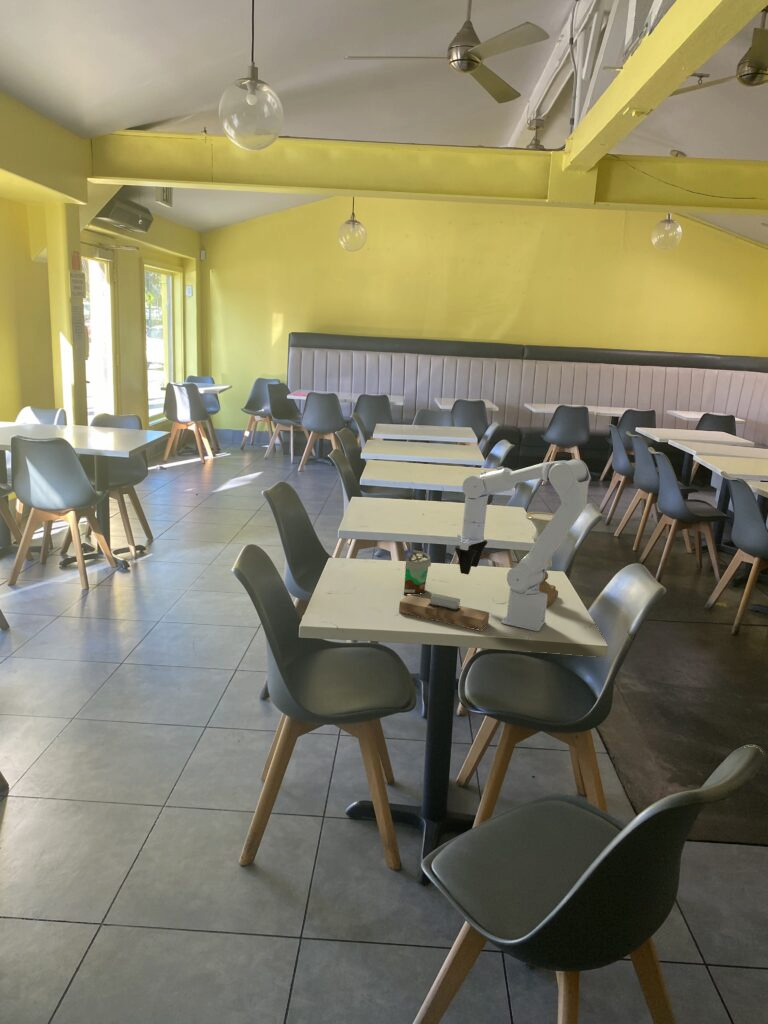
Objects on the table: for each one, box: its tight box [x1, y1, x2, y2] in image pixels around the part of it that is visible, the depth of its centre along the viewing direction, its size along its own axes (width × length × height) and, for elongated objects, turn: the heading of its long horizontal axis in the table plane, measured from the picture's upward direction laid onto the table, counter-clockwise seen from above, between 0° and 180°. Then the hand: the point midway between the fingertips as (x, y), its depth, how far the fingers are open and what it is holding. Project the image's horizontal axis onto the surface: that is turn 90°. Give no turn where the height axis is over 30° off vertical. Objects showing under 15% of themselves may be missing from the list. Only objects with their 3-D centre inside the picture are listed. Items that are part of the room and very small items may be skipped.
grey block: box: [429, 593, 461, 612], centre depth 184 cm, size 7×2×6 cm, turn 66°
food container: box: [403, 549, 432, 595], centre depth 202 cm, size 12×6×10 cm, turn 168°
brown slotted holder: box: [398, 595, 490, 631], centre depth 184 cm, size 22×6×3 cm, turn 66°
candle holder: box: [525, 511, 559, 608], centre depth 202 cm, size 11×11×24 cm
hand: (469, 569), depth 193 cm, fingers open, 7 cm apart
